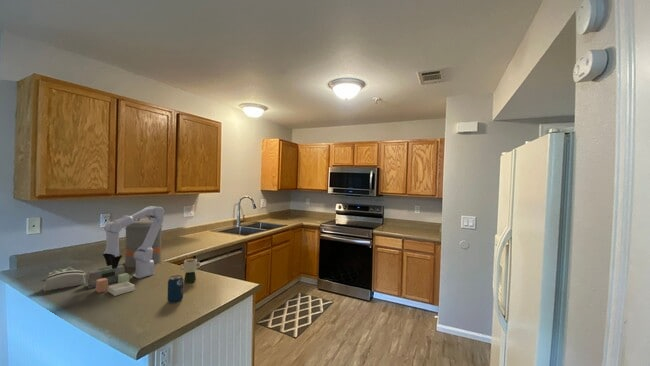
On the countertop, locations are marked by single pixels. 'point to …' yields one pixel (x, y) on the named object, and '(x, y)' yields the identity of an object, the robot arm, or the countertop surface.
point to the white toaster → (63, 270)
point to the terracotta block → (102, 285)
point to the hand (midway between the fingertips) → (112, 266)
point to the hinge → (64, 279)
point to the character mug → (190, 269)
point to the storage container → (140, 241)
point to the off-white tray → (121, 288)
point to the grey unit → (104, 275)
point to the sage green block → (123, 278)
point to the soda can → (175, 289)
